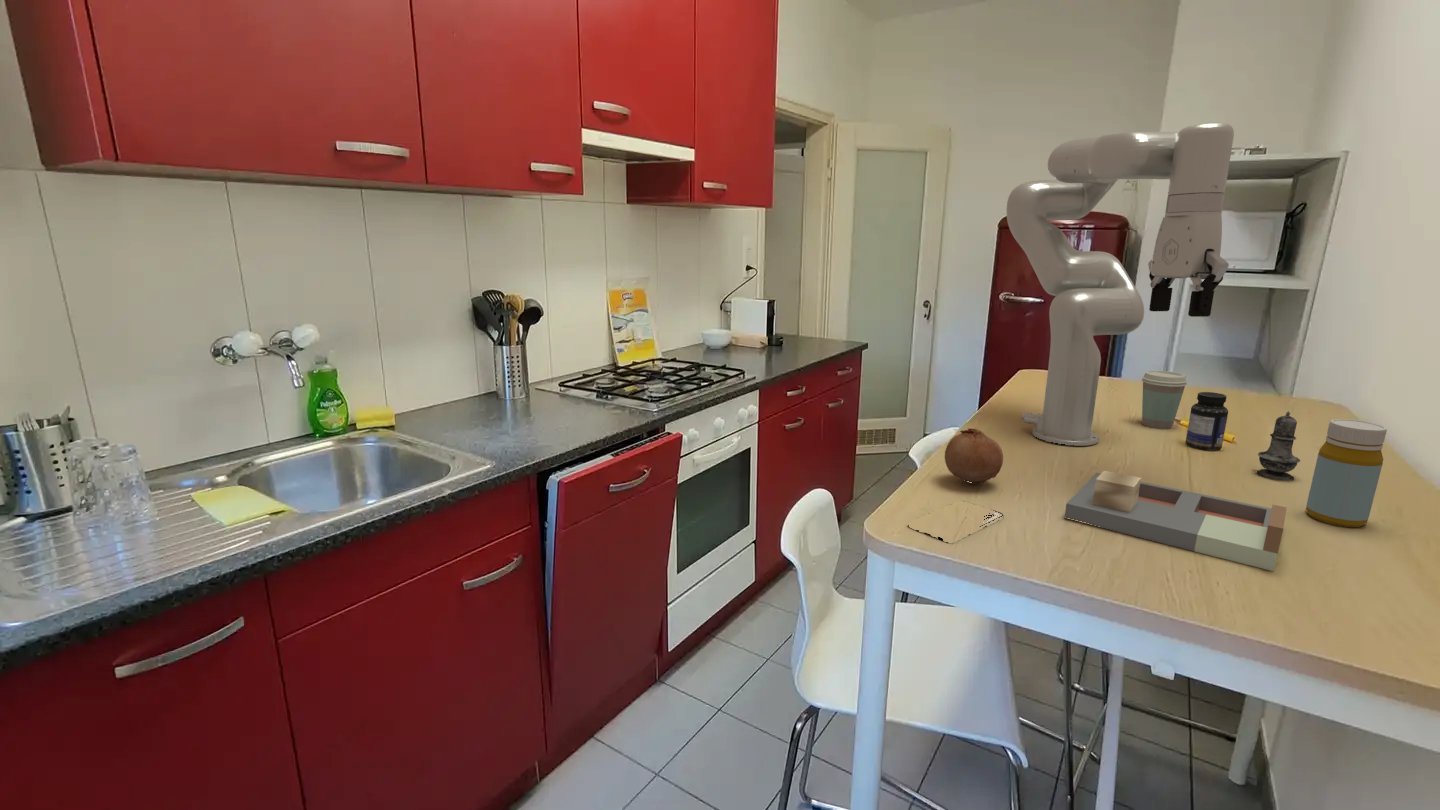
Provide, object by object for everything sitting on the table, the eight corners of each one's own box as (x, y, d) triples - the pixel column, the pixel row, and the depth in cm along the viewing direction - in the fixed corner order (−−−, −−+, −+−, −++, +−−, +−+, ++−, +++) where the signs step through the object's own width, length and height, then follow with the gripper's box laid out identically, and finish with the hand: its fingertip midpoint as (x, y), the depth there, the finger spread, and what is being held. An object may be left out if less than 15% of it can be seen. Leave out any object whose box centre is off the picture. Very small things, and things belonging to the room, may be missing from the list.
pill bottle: (1208, 442, 139) (1217, 390, 136) (1228, 451, 133) (1239, 398, 130) (1178, 442, 139) (1187, 390, 136) (1197, 451, 133) (1207, 397, 130)
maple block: (1092, 503, 101) (1096, 479, 100) (1100, 494, 105) (1104, 470, 104) (1130, 512, 98) (1134, 487, 97) (1137, 502, 101) (1141, 477, 100)
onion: (933, 484, 116) (937, 429, 114) (956, 470, 123) (960, 418, 120) (987, 498, 110) (993, 440, 107) (1008, 482, 117) (1014, 428, 114)
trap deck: (1064, 518, 102) (1069, 482, 100) (1094, 486, 115) (1099, 453, 113) (1273, 571, 86) (1283, 528, 84) (1281, 526, 99) (1289, 488, 97)
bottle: (1372, 532, 96) (1398, 434, 93) (1309, 522, 100) (1331, 426, 96) (1359, 515, 102) (1383, 422, 98) (1301, 506, 106) (1321, 416, 102)
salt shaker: (1303, 482, 116) (1318, 416, 113) (1265, 480, 117) (1279, 414, 114) (1283, 471, 122) (1297, 408, 119) (1247, 469, 123) (1259, 406, 120)
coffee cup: (1188, 430, 147) (1197, 377, 144) (1149, 430, 147) (1158, 377, 144) (1163, 420, 155) (1172, 370, 152) (1127, 420, 155) (1134, 370, 152)
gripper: (1137, 210, 115) (1124, 309, 119) (1209, 203, 98) (1192, 318, 102) (1180, 210, 115) (1166, 309, 119) (1259, 202, 98) (1240, 318, 102)
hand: (1178, 313), depth 111 cm, fingers open, 9 cm apart
